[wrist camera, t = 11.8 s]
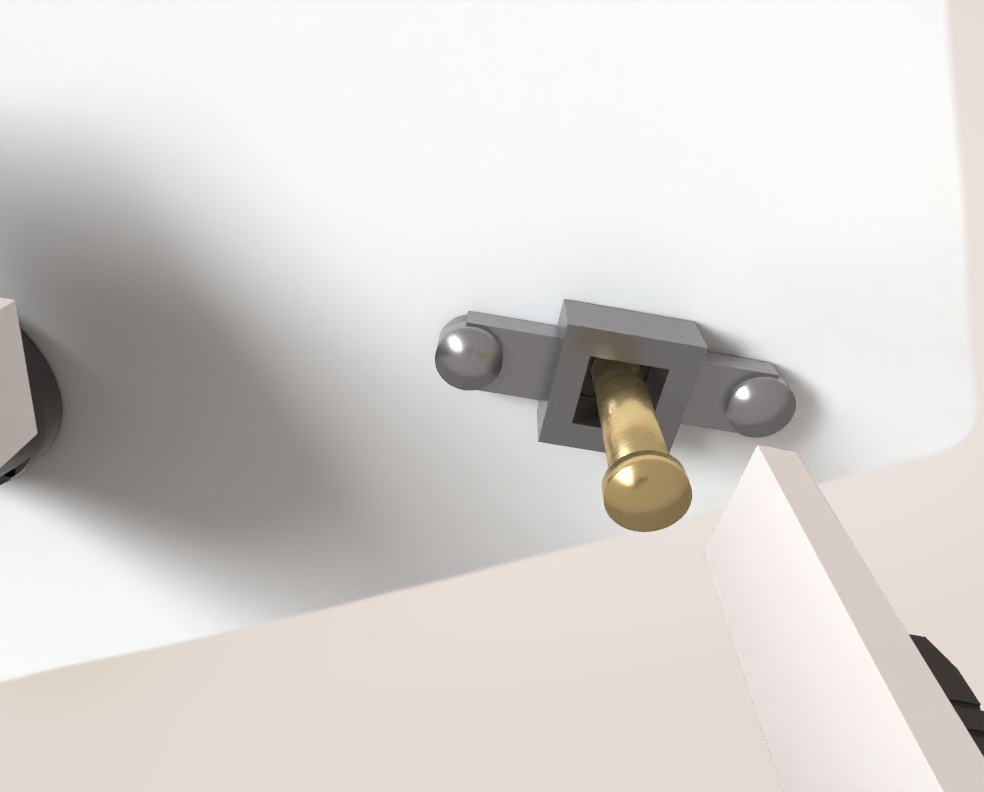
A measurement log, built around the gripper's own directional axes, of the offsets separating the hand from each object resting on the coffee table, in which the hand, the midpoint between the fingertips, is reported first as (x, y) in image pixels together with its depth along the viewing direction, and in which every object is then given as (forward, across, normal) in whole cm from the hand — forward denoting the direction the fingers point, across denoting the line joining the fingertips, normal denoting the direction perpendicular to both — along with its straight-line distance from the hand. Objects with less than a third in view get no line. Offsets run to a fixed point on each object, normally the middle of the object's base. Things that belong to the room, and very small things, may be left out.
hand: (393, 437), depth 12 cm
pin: (+27, +11, -11) cm, 32 cm away
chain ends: (+27, +11, -11) cm, 32 cm away
